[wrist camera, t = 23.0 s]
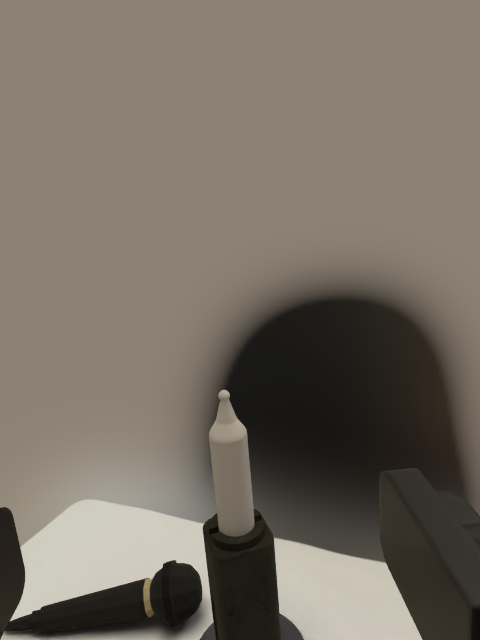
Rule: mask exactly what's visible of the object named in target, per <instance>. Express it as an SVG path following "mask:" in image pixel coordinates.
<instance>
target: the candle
mask: <svg viewBox="0 0 480 640" xmlns="http://www.w3.org/2000/svg"><path fill="white" fill-rule="evenodd" d="M229 397H230V394H229V392H227V391H226V390H222V391H221V392H220V393H219V398H220V404H219V409H218V414H217V418H216V421H215V423H214V425H213V426H212V428H211V430H210V433H209V440H210V450H211V460H212V469H213V478H214V488H215V497H216V506H217V514H216V515H214V516H213V517H212V518H211V519H209V520H208V521H207V522H205V524H204V525H203V534H204V543H205V552H206V560H207V569H208V577H209V586H210V595H211V603H212V612H213V621H214V629H215V638H216V640H281V629H280V616H279V602H278V589H277V576H276V562H275V549H274V537H273V534H272V532H271V531H270V529H269V527H268V526H267V524H266V522H265V520H264V519H263V517H262V515H261V514H260V513H259V512H258V511H257V510H255V509H253V499H252V488H251V477H250V464H249V452H248V441H247V431H246V429H245V427H244V426H243V424H242V423H241V422H240V421H239V420H238V419H237V417H236V415H235V413H234V410H233V408H232V406H231V403H230V401H229Z"/></svg>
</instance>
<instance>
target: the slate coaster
mask: <svg viewBox="0 0 480 640" xmlns="http://www.w3.org/2000/svg"><path fill="white" fill-rule="evenodd" d="M279 616H280V629H281V640H304V639H303V637H302V635H301V633H300V632H299V630H298V629H297V627H296V626H295V625H294V624H293V623H292V622H291V621H290V620H289V619H287V618H286V617H284V616H283V615H281V614H279ZM200 640H216V638H215V629H214V623H212V624H211V625H210V626H209V627H208V629H207V630H206V631H205V632H204V634H203V636H202V637H201V639H200Z"/></svg>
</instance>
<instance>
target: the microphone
mask: <svg viewBox="0 0 480 640" xmlns="http://www.w3.org/2000/svg"><path fill="white" fill-rule="evenodd" d="M201 601H202V585H201V580H200V576H199V574H198V572H197V571H196V570H195V569H194V568H193V567H192V566H191V565H189V564H185V563H176V561H175V560H173V561H169V562H167V563H164V564H163V568H162V569H161V570H159V571H158V572H157V573H156V574H155V576H154V578H153V579H152V580H151V579H149V578H146V579H142V580H139V581H135V582H131V583H128V584H124V585H120V586H117V587H113V588H109V589H106V590H102V591H98V592H94V593H91V594H87V595H83V596H80V597H76V598H72V599H69V600H65V601H61V602H58V603H54V604H50V605H47V606H44V607H41V609H40V610H37V611H33V612H32V614H30V615H26V616H23V617H20V618H18V619H15V620H13V621H10V622H9V623H8V625H7V627H6V629H5V631H26V630H32V632H35V631H40V632H41V633H46V632H54V631H61V630H68V629H75V628H82V627H89V626H97V625H104V624H111V623H118V622H125V621H132V620H140V619H147V618H150V617H151V616H152V615H153V614H154V613H155V614H156V616H157V617H158V618H159V619H160V620H161V621H164V622H166V623H168V624H169V626H170V627H177V626H179V625H180V624H181V623H182V622H183V620H185V619H187V618H189V617H190V616H192V615H193V614H194V613H195V612H196V611H197V609H198V607H199V605H200V603H201Z"/></svg>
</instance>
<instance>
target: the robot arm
mask: <svg viewBox="0 0 480 640" xmlns="http://www.w3.org/2000/svg"><path fill="white" fill-rule="evenodd" d="M379 509H380V511H379V512H380V540H381V546H382V550H383V554H384V558H385V561H386V564H387V566H388V568H389V570H390V572H391V574H392V576H393V579H394V581H395V583H396V585H397V587H398V589H399V591H400V593H401V595H402V597H403V600H404V602H405V604H406V606H407V608H408V610H409V612H410V614H411V616H412V618H413V621H414V623H415V625H416V627H417V629H418V631H419V633H420V635H421V637H422V639H423V640H480V516H479V515H478V514H477V513H476V511H475V510H474V509H473V508H472V507H471V506H470V504H468V503H467V502H465V501H464V500H462V499H460V498H459V497H457V496H456V495H454V494H452V493H451V492H449V491H448V490H440V491H435V490H434V489H433V488H432V486H431V485H430V484H429V482H428V481H427V480H426V479H425V477H424V476H423V475H422V474H421V472H420V471H419V470H418V469H416V468H412V469H401V470H391V471H383V472H381V473H380V477H379ZM24 583H25V568H24V563H23V559H22V554H21V550H20V545H19V541H18V536H17V532H16V527H15V523H14V519H13V515H12V513H11V511H10V510H9V509H8V508H6V507H3V508H0V639H1V637H2V635H3V633H4V631H5V629H6V627H7V625H8V623H9V621H10V620H11V618H12V616H13V614H14V612H15V610H16V608H17V606H18V604H19V602H20V600H21V597H22V594H23V589H24Z"/></svg>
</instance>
